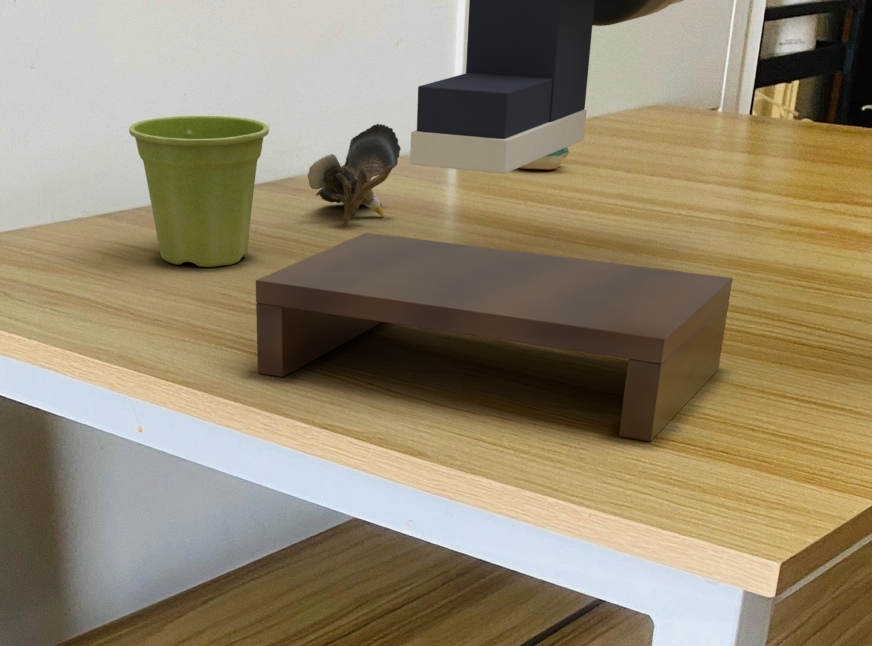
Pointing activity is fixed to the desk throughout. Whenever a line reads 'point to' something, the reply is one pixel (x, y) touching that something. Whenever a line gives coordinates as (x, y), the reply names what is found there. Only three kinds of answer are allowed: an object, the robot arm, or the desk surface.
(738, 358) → the desk surface
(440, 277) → the monitor riser stand
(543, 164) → the whale figurine
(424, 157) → the boot
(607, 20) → the robot arm
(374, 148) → the eagle figurine
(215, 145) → the plant pot
